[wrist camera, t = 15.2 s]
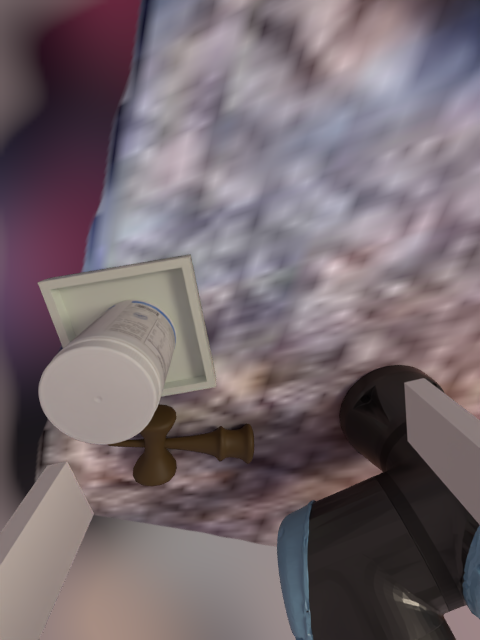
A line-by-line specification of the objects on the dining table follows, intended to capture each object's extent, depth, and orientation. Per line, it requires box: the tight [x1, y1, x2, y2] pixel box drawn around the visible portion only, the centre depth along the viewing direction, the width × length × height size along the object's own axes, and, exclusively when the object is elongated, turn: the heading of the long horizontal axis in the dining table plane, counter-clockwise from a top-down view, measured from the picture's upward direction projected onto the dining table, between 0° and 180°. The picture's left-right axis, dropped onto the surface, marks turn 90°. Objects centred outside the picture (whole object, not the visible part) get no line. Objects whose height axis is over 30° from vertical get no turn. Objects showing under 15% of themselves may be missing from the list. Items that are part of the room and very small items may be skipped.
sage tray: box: [38, 254, 216, 397], centre depth 38 cm, size 17×17×2 cm
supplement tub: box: [39, 300, 176, 445], centre depth 31 cm, size 10×10×15 cm
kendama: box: [107, 404, 254, 486], centre depth 42 cm, size 6×10×20 cm
